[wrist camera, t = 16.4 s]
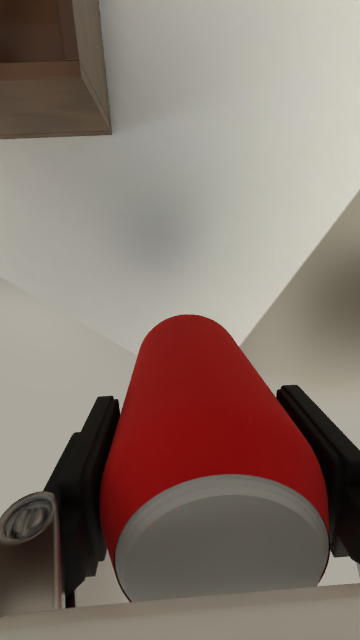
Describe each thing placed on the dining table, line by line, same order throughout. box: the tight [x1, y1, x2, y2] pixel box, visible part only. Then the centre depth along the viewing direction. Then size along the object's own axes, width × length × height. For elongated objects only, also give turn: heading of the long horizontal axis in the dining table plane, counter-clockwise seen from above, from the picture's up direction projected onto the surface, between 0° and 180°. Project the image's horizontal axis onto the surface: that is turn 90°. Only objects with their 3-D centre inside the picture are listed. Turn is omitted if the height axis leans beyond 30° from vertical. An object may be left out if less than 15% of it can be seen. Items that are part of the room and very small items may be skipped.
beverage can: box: [99, 314, 330, 602], centre depth 11 cm, size 6×6×12 cm
